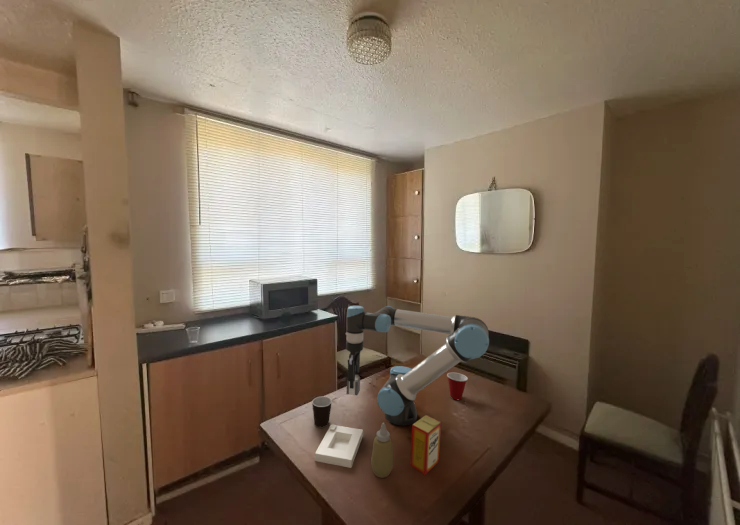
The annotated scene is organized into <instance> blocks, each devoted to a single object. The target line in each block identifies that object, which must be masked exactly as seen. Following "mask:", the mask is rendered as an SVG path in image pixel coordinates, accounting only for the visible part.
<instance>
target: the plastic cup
mask: <svg viewBox="0 0 740 525" xmlns="http://www.w3.org/2000/svg"><path fill="white" fill-rule="evenodd" d="M446 377H447V380H448V389H449V390H448V391H449V397H450V396H451V397H452V398H453V399H452V398H451V397H450V398H451V399H452V400H454V399H461V400H462V398H463V394H464V390H465V387H466V384H467V381H468V376H466V375H465V374H462V373H459V372H448V373H447V374H446Z"/></svg>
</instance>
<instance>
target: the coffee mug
mask: <svg viewBox="0 0 740 525" xmlns="http://www.w3.org/2000/svg"><path fill="white" fill-rule="evenodd" d="M332 402H333V401H332V399H331V397H328V396H324V395H323V396H317V397H315V398H313V399H312V401H311V403H312V404H311V405H312V412H313V413H312V414H313V423H314V426H315V427H317V428H325V427H327V426H328V425H329V423H330V416H331V410H332V404H333V403H332Z"/></svg>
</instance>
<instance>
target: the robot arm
mask: <svg viewBox="0 0 740 525" xmlns="http://www.w3.org/2000/svg"><path fill="white" fill-rule="evenodd" d="M392 326H395V327H396V326H397V327H403V328H410V329H414V330H415V329H416V330H420V331H421V330H422V331H427V332H434V333H440V334H445V335H448V336H447V337H446V339H445V342H446V343H444V344H442V346H440V347H439V348H438V349H436V350H435V351H434V352H432V353H431V354H429V355H428V356H427V357H426V358H424V359H423V360H422V361H420V362H419V363H418V364H416V365H415V366H414V367H408V366H402V365H400V366H399V365H398V366H397V365H396V366H393V367H390V372H389V378H388V379H387V381H386V382H385V383H384V385H383V386H382V388H380V389H379V392H378V393H377V397H376V398H377V399H376V400H377V404H378V407H379V408H380V410H381V411H382V412H383V413H384V417H385V419H386V420H387V421H388V422H389V423H391V424H393V425H395V426H410V425H413V424H414V423H416V422H417V421H418V411H417V407H416V404H415V400H416V398H417V394H418V393H420V392H421V391H422V390H423V389H425V388H426V387H428V386H429V384H431V383H433V382H434V381H436V380H437V379H438V378H440V377H441V376H442V375H444V374H445V373H447V372H448V371H449V370H451V369H452V368H454V367H455V366H456V365H458V364H460V363H464V364H465V363H468V362H469V361H471V360H474V359H478V358H481V357H482V356H483V355H484V354H486V352H487V350H488V349H489V346H490V338H489V335H490V334H489V333H490V331H489V328H488V325H487V324H486V322H484V321H483V320H481V319H480V318H478V317H475V316H468V315H461V314H460V315H459V314H454V316H448V315H441V314H434V313H428V312H427V313H426V312H421V311H420V312H419V311H413V310H405V309H399V308H394V307H393V306H391V305H386V306H384V307H382V308H380V309H379V310H377V311H375V312H368V311H365V307H363V305H362V306H361V305H350V306H348V307H347V311H346V332H345V333H344V334H345V336H346V337H345V338H346V342H345V349H346V350H347V351H348V352H349V354H348V359H347V379H346V382H347V381H349V394H348V395H350V396H351V395H352V396H356V395H355V376H359V375H361V372H360V369H361V368H360V366H361V352H362V351H363V349H364V330H366V331H372V332H378V333H388V332H390V329H391V327H392Z"/></svg>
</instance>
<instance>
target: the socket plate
mask: <svg viewBox="0 0 740 525" xmlns="http://www.w3.org/2000/svg"><path fill="white" fill-rule="evenodd" d="M363 437H364V430H363V429H362V428H361V429H359V428H354V427H347V426H342V425H337V424H330V426H329V427H328V429H327V431H326V433H325V435H324V437H323V439H322V440H321V442H320V444H319V445H318V448H317V449H316V451H315V453H314V461H315V462H319V463H324V464H327V465H328V464H329V465H335V466H340V467H344V468H350V469H351V468H352V467H353V465H354V461H355V458H356V456H357V453H358V451H359V447H360V445H361V442H362V440H363Z"/></svg>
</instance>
